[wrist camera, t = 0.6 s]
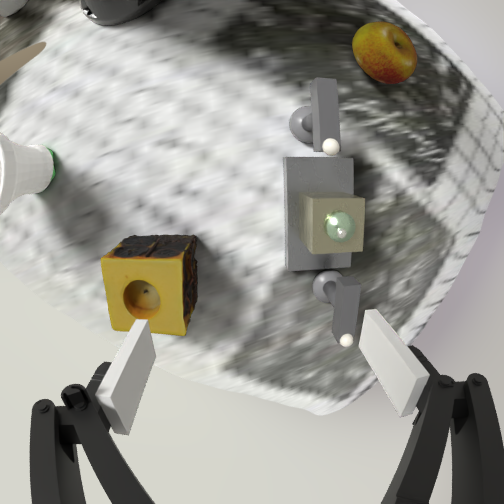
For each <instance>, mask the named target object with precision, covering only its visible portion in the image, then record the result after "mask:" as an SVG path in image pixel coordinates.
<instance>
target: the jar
mask: <svg viewBox="0 0 504 504" xmlns="http://www.w3.org/2000/svg"><path fill="white" fill-rule="evenodd" d="M27 1H28V0H0V15H2V16H4V17H7V16H9V15H11V14H14V13H16V12H17V11H18V10H20V9H21V8H22V7H23V6H24V5H25V4H26V3H27Z"/></svg>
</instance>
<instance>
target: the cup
mask: <svg viewBox="0 0 504 504" xmlns="http://www.w3.org/2000/svg"><path fill="white" fill-rule="evenodd" d="M55 174H56V172H55V169H54V164H53V152H52V151H51V150H50V149H48V148H46V147H45V146H43V145H30V146H23V145H18V144H16V143H14V142H12V141H10V140H9V139H8V138H7V136H5V135H4V134H3V133H1V132H0V214H2V213H3V212H4V211H5V210H6V208H7V207H8V206H9V204H10V203H11V202H12V201H14V200H15V199H16V198H18V197H20V196H22V195H25V194H35V193H40V192H42V191H44V190H45V188H46V187H47V186H48V185H49V183H50V182H51V180H52V179H53V178H54V176H55Z"/></svg>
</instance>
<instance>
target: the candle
mask: <svg viewBox="0 0 504 504" xmlns="http://www.w3.org/2000/svg"><path fill="white" fill-rule="evenodd" d="M196 239H197V238H196V236H195V235H192V236H188V235H160V236H159V235H150V236H136V235H133V236H129V237H128V238H125V239H123V241H122V242H120V243H119V244H118V245H117V246H116V247H115V248H114V249H112V251H111V252H108V253H107V255H104V256H103V257H102V258H101V268H102V274H103V280H104V285H105V291H106V296H107V303H108V311H109V315H110V320H111V325H112V328H113V329H114V330H116V331H128V332H129V331H130V329H131V327H132V326H133V324H134V322H135V320H136V319H143V320H148V323H149V328H150V332H151V333H158V334H168V335H178V336H185V335H186V331H187V327H188V324H189V322H190V317H191V314H192V312H193V310H194V309H195V304H196V302H197V297H198V296H197V284H198V282H197V279H198V278H197V265H196V264H197V261H196V260H195V258H194V254H195V249H196V245H197V244H196V241H197V240H196Z"/></svg>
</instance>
